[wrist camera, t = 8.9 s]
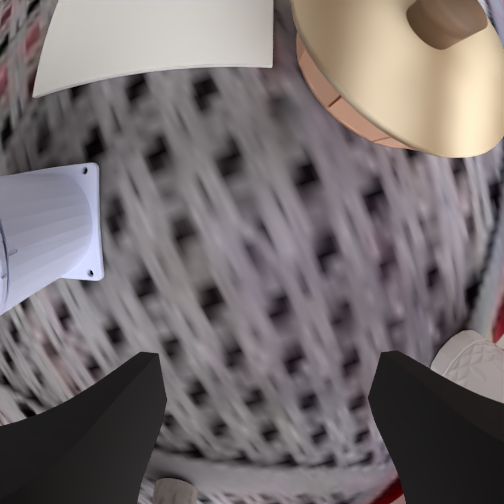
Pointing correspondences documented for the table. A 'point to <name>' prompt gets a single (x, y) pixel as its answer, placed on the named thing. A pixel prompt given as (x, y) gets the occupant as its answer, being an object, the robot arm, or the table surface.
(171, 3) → the white square mat
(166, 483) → the decorative mushroom
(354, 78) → the oak lid
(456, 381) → the white cup
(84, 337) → the table surface
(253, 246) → the table surface
